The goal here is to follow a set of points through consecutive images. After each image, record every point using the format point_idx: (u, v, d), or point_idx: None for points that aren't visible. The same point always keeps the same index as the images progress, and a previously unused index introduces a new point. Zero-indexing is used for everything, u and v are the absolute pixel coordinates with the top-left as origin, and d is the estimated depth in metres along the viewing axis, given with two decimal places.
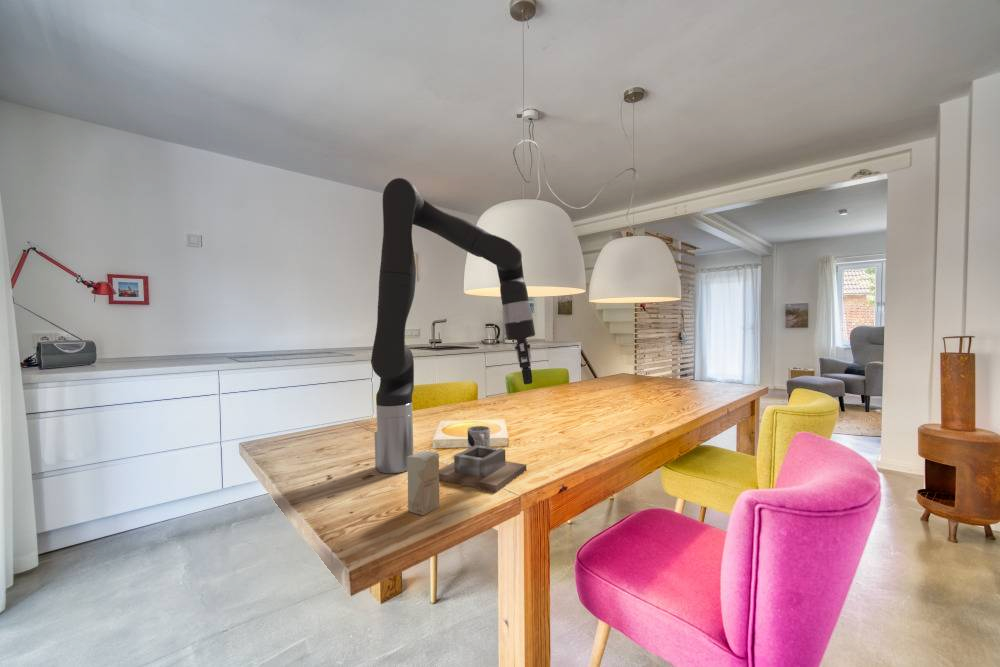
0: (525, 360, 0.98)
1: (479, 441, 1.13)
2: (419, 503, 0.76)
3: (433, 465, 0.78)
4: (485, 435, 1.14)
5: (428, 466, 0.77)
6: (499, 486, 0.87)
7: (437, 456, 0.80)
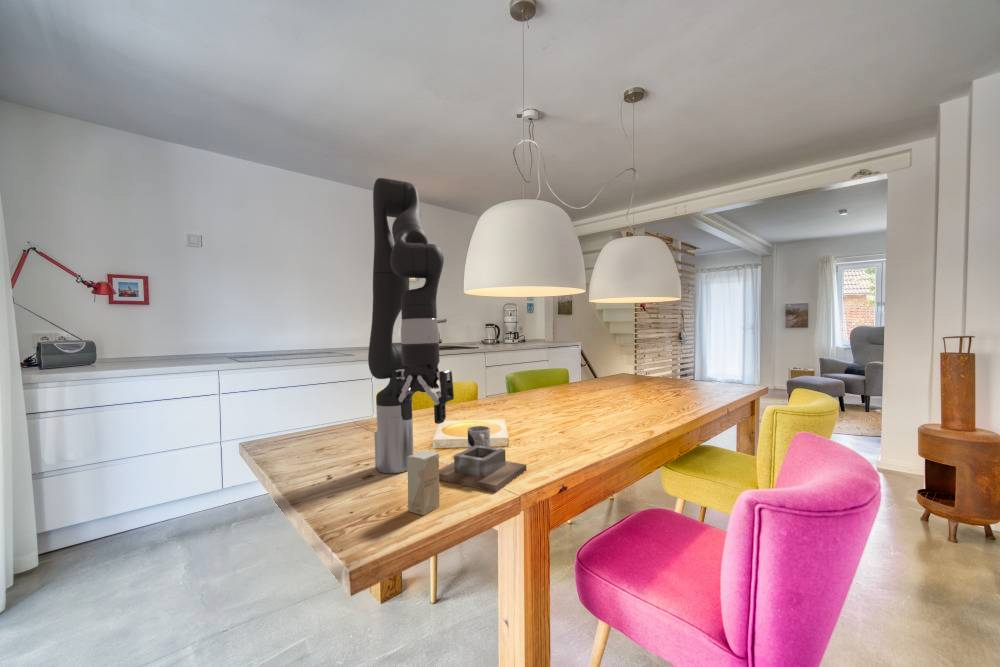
0: None
1: (479, 441, 1.13)
2: (419, 503, 0.76)
3: (433, 465, 0.78)
4: (485, 435, 1.14)
5: (428, 466, 0.77)
6: (499, 486, 0.87)
7: (437, 456, 0.80)
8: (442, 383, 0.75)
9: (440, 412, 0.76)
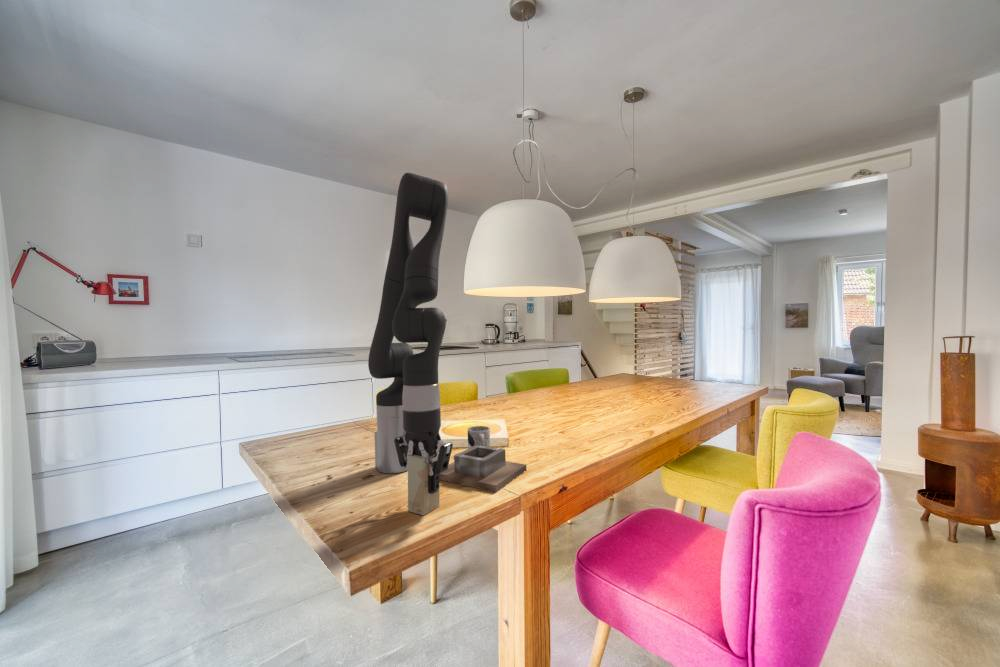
0: None
1: (479, 441, 1.13)
2: (419, 503, 0.76)
3: (433, 465, 0.78)
4: (485, 435, 1.14)
5: None
6: (499, 486, 0.87)
7: None
8: (440, 456, 0.75)
9: (434, 483, 0.77)
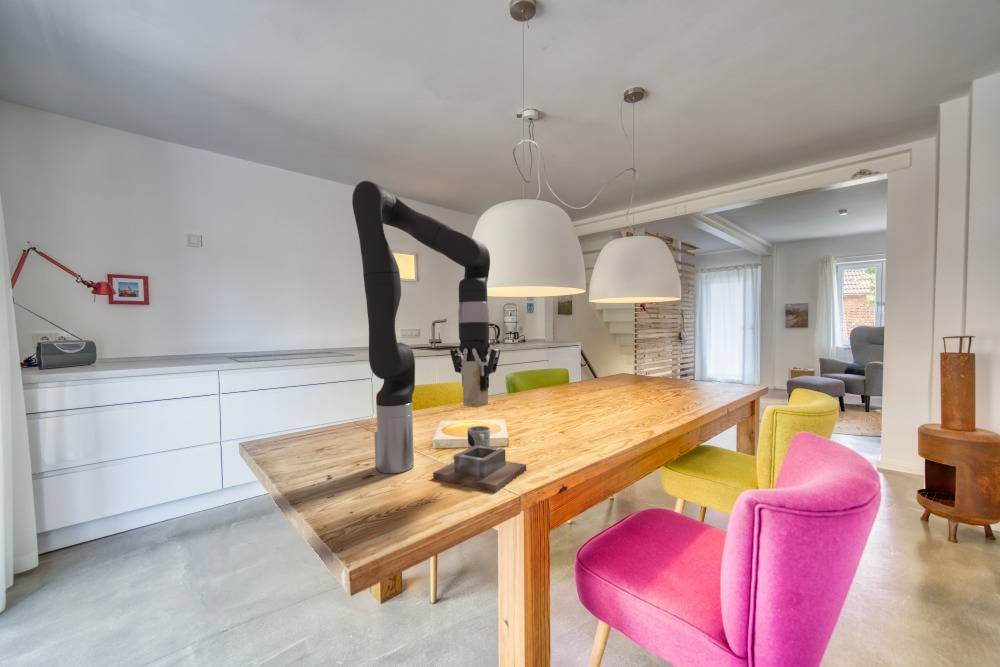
0: None
1: (479, 441, 1.13)
2: (473, 398, 0.93)
3: None
4: (485, 435, 1.14)
5: None
6: (499, 486, 0.87)
7: None
8: (491, 359, 0.92)
9: (485, 382, 0.94)
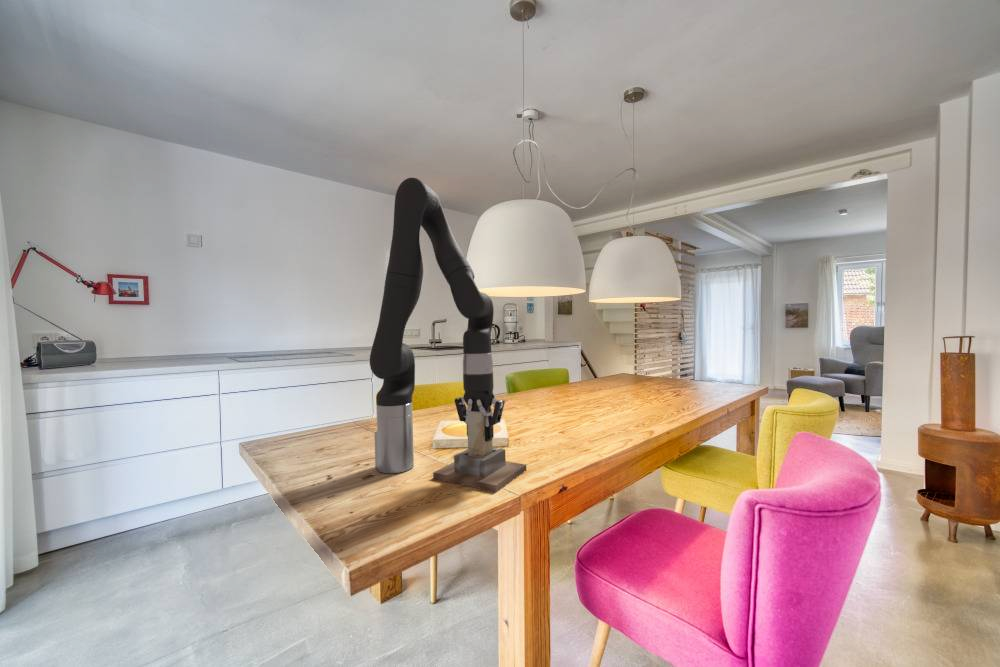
0: None
1: None
2: (478, 448, 0.94)
3: None
4: None
5: None
6: (499, 486, 0.87)
7: None
8: (495, 410, 0.93)
9: (489, 432, 0.95)
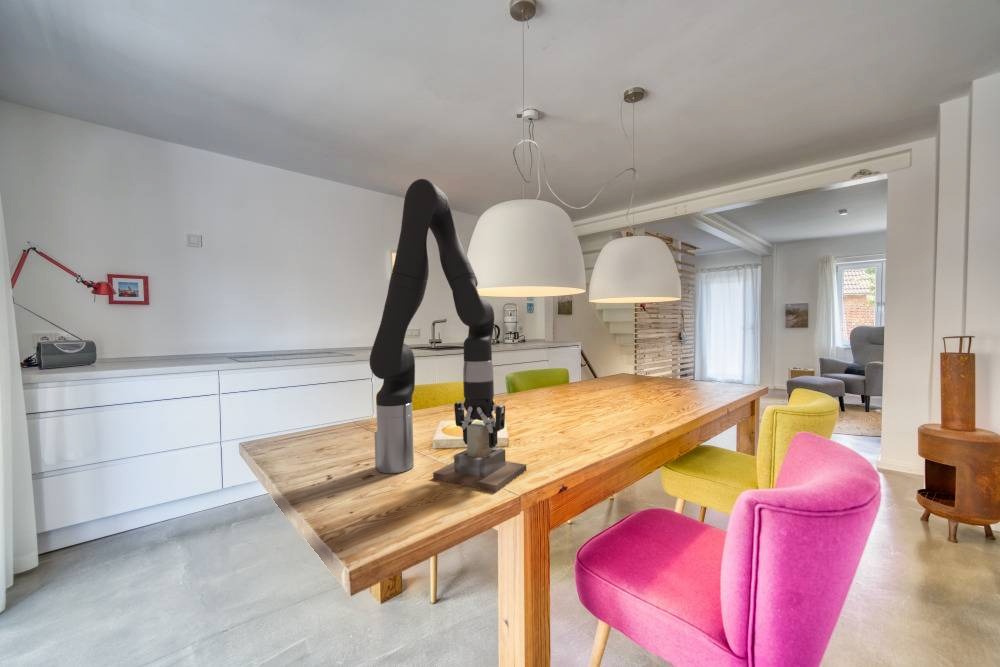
0: None
1: None
2: None
3: (487, 432, 0.97)
4: None
5: (484, 433, 0.96)
6: (499, 486, 0.87)
7: None
8: (497, 416, 0.93)
9: (493, 438, 0.94)
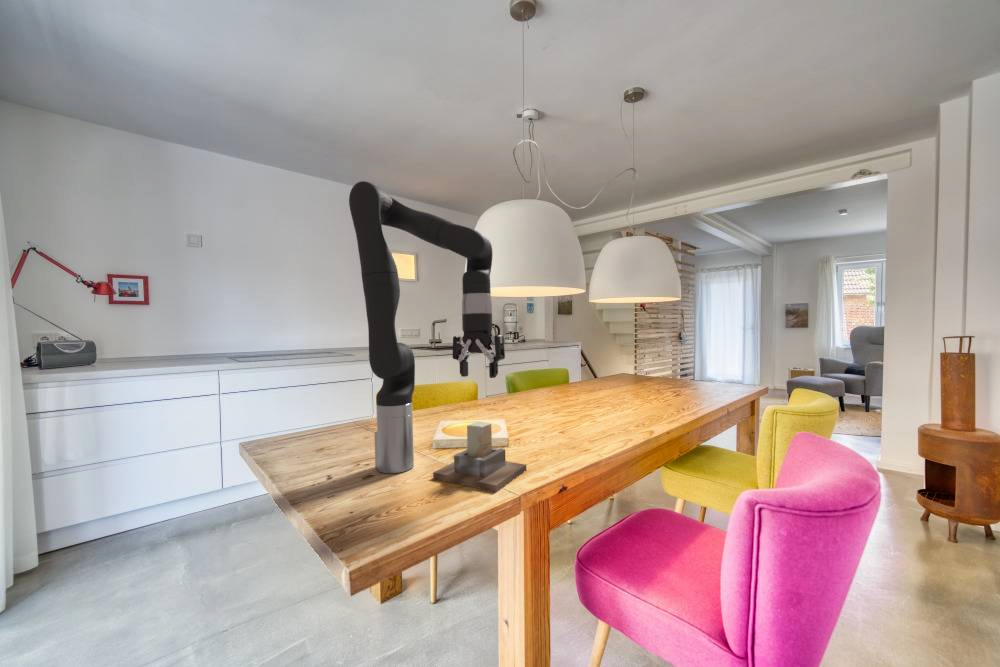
0: None
1: None
2: None
3: (488, 432, 0.97)
4: None
5: (484, 433, 0.95)
6: (499, 486, 0.87)
7: (490, 426, 0.98)
8: (496, 345, 0.93)
9: (494, 368, 0.95)
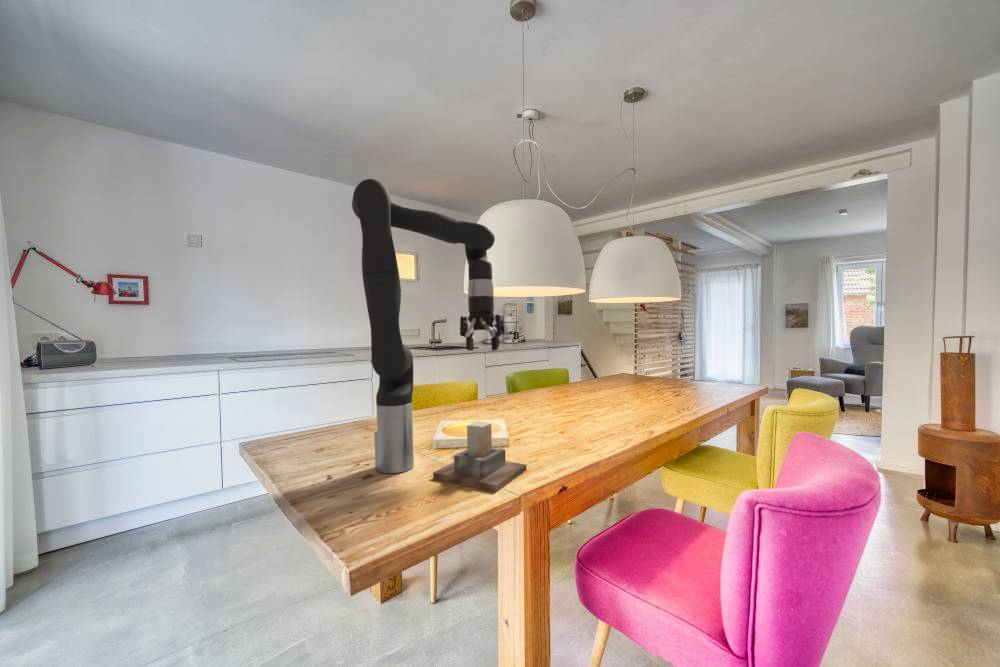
0: None
1: None
2: None
3: (488, 432, 0.97)
4: None
5: (484, 433, 0.95)
6: (499, 486, 0.87)
7: (490, 426, 0.98)
8: (497, 322, 1.11)
9: (495, 342, 1.12)
